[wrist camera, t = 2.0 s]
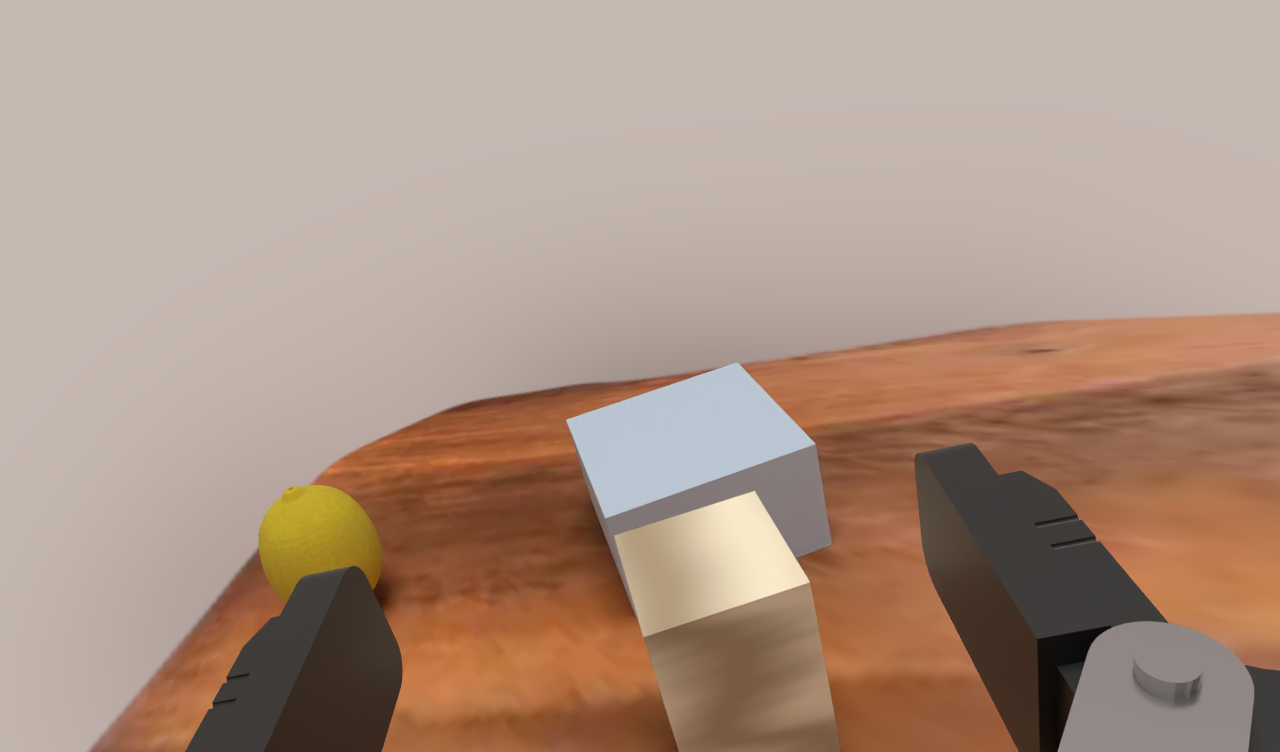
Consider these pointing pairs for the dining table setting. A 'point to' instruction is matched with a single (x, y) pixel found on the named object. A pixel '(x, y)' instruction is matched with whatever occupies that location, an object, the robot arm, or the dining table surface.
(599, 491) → the slate block
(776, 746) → the birch block
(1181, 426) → the dining table surface
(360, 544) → the lemon
